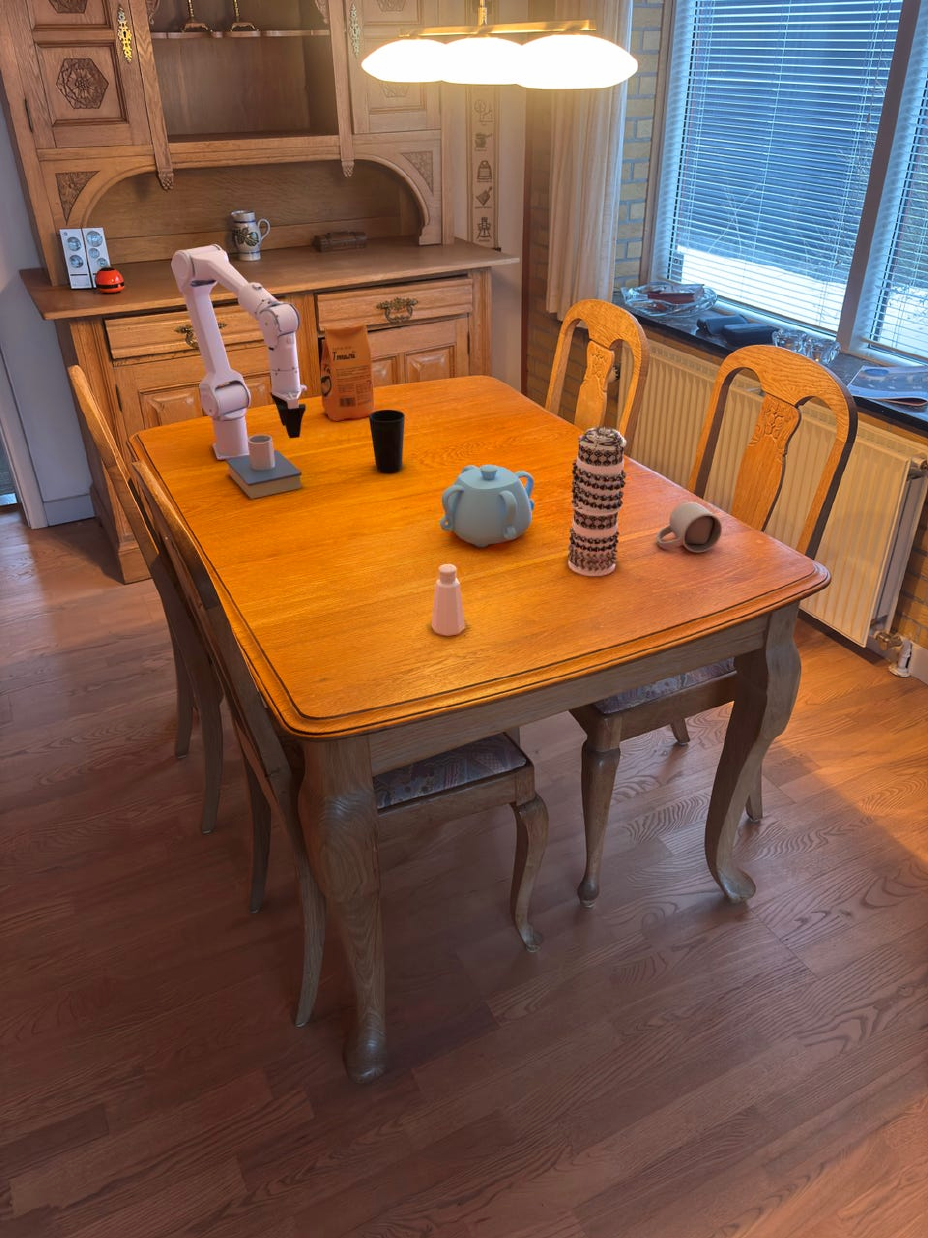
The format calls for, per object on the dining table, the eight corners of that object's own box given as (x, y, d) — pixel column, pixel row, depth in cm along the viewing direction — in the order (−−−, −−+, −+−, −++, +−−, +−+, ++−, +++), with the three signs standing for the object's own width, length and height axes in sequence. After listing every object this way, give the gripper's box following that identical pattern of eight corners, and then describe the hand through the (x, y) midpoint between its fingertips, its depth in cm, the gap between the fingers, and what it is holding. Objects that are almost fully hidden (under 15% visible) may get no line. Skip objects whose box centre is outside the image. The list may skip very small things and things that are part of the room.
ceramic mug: (700, 531, 178) (705, 494, 174) (719, 550, 171) (725, 512, 167) (648, 537, 176) (652, 500, 172) (666, 557, 169) (670, 519, 165)
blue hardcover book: (227, 475, 201) (225, 459, 199) (278, 464, 206) (277, 449, 204) (250, 499, 191) (247, 483, 189) (303, 488, 195) (301, 472, 194)
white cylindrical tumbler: (249, 463, 198) (245, 436, 195) (272, 460, 199) (269, 433, 196) (253, 471, 194) (249, 444, 191) (277, 468, 195) (273, 441, 192)
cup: (409, 462, 207) (407, 410, 201) (403, 475, 201) (401, 422, 195) (375, 460, 208) (372, 408, 202) (368, 474, 202) (365, 421, 195)
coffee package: (319, 410, 236) (311, 322, 224) (366, 404, 240) (361, 317, 228) (330, 423, 228) (323, 333, 216) (378, 416, 232) (374, 327, 221)
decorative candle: (555, 562, 168) (562, 430, 154) (592, 548, 172) (602, 418, 159) (590, 582, 162) (601, 446, 148) (627, 567, 166) (642, 433, 153)
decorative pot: (510, 560, 168) (513, 491, 161) (431, 543, 174) (430, 475, 167) (542, 524, 181) (545, 458, 174) (467, 509, 187) (467, 445, 179)
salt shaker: (450, 614, 153) (449, 555, 147) (472, 628, 149) (472, 568, 143) (424, 626, 150) (422, 566, 144) (446, 640, 146) (445, 579, 140)
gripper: (310, 375, 183) (316, 440, 190) (297, 355, 195) (303, 417, 202) (275, 378, 181) (282, 444, 188) (263, 358, 193) (270, 421, 200)
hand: (290, 431), depth 195 cm, fingers open, 7 cm apart
